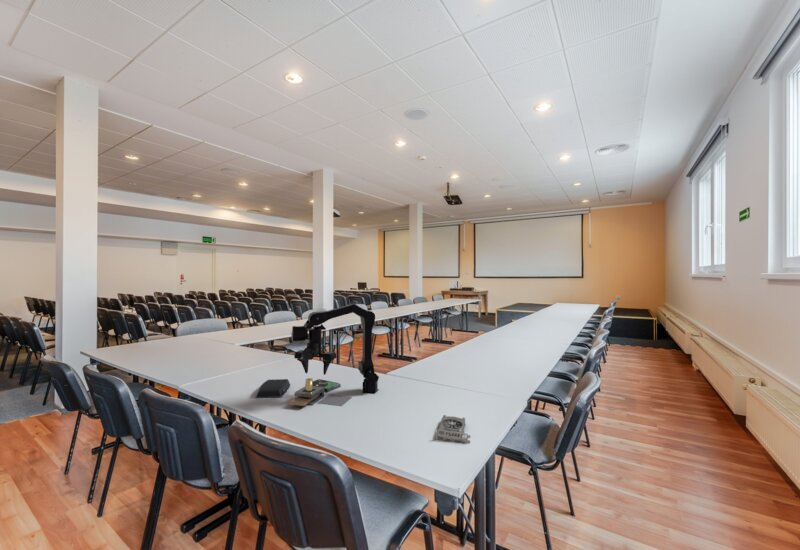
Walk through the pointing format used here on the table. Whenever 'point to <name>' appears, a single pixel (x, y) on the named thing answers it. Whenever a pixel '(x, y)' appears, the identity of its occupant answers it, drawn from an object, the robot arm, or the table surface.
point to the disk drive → (326, 385)
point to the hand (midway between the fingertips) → (315, 373)
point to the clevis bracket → (308, 396)
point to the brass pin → (309, 384)
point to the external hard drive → (273, 388)
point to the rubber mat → (335, 400)
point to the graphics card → (452, 429)
